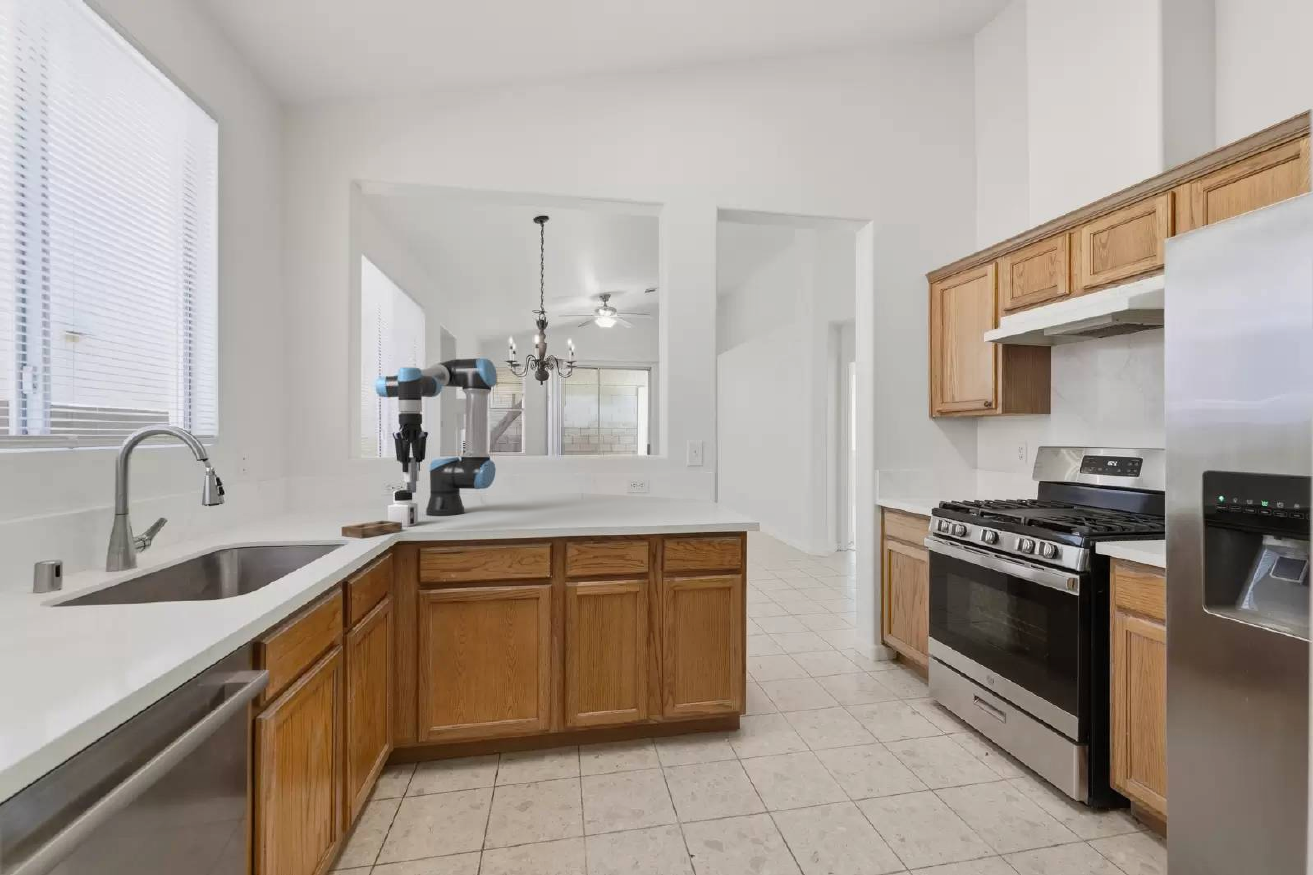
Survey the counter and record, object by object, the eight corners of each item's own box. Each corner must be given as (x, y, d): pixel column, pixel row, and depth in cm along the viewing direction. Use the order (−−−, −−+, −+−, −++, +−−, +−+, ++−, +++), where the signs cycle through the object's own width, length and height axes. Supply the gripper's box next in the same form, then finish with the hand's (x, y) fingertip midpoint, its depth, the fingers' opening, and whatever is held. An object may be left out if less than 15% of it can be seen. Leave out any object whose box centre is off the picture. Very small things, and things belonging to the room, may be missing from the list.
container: (418, 523, 234) (417, 489, 234) (408, 527, 227) (407, 491, 227) (398, 523, 235) (398, 489, 235) (387, 526, 228) (387, 491, 227)
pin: (412, 491, 217) (411, 457, 216) (418, 492, 215) (417, 457, 215) (405, 492, 214) (404, 457, 214) (411, 492, 213) (410, 457, 212)
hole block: (382, 528, 223) (382, 520, 223) (402, 530, 218) (401, 522, 218) (341, 535, 209) (341, 527, 209) (361, 538, 204) (361, 529, 204)
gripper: (420, 413, 223) (421, 479, 223) (383, 412, 209) (384, 483, 209) (435, 413, 219) (437, 479, 220) (399, 412, 205) (400, 484, 206)
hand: (411, 481), depth 215 cm, fingers closed on pin, 2 cm apart
